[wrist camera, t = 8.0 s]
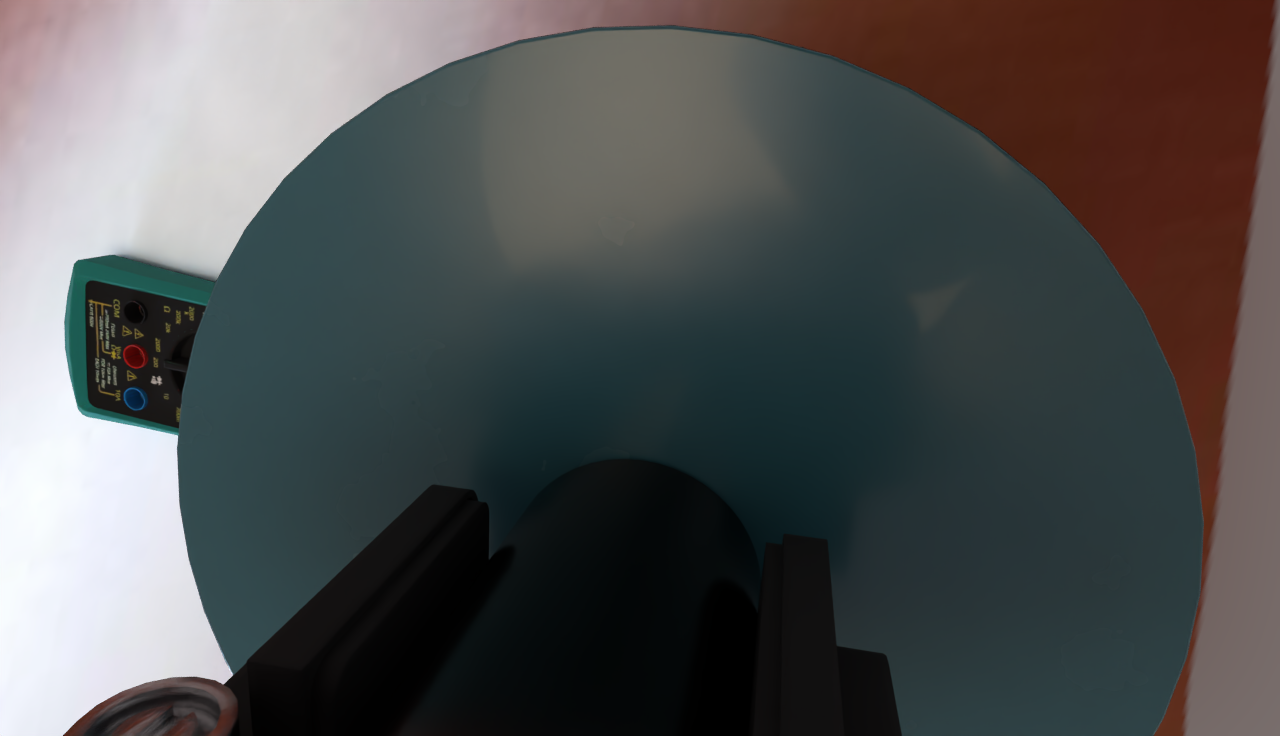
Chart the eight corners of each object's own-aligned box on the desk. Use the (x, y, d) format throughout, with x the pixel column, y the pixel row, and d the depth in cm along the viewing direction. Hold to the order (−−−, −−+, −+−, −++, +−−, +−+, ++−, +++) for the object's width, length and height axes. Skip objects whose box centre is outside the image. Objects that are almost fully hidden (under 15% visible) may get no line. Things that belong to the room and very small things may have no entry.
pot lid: (1298, 65, 10) (2963, -182, 2) (1045, 986, 14) (1339, 1963, 6) (188, 13, 12) (-801, -195, 4) (258, 816, 16) (-198, 1393, 9)
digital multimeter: (103, 248, 37) (47, 256, 34) (407, 316, 35) (374, 331, 32) (107, 397, 39) (54, 416, 36) (393, 468, 37) (361, 494, 35)
